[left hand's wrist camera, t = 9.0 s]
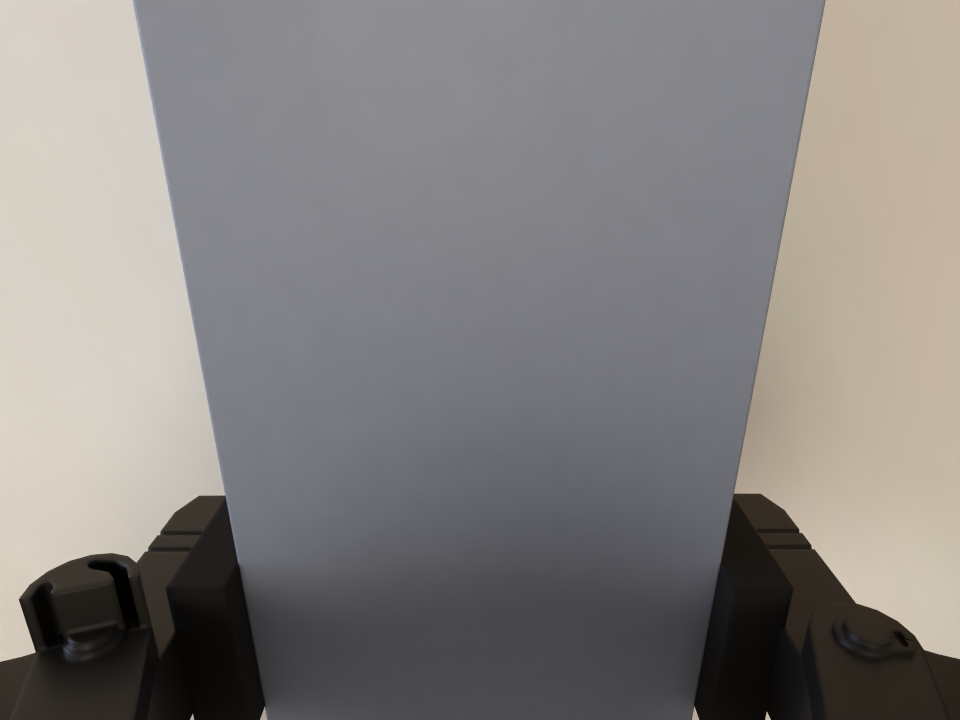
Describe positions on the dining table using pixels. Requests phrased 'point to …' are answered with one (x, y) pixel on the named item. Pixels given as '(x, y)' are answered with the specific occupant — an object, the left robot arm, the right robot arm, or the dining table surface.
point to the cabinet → (479, 331)
